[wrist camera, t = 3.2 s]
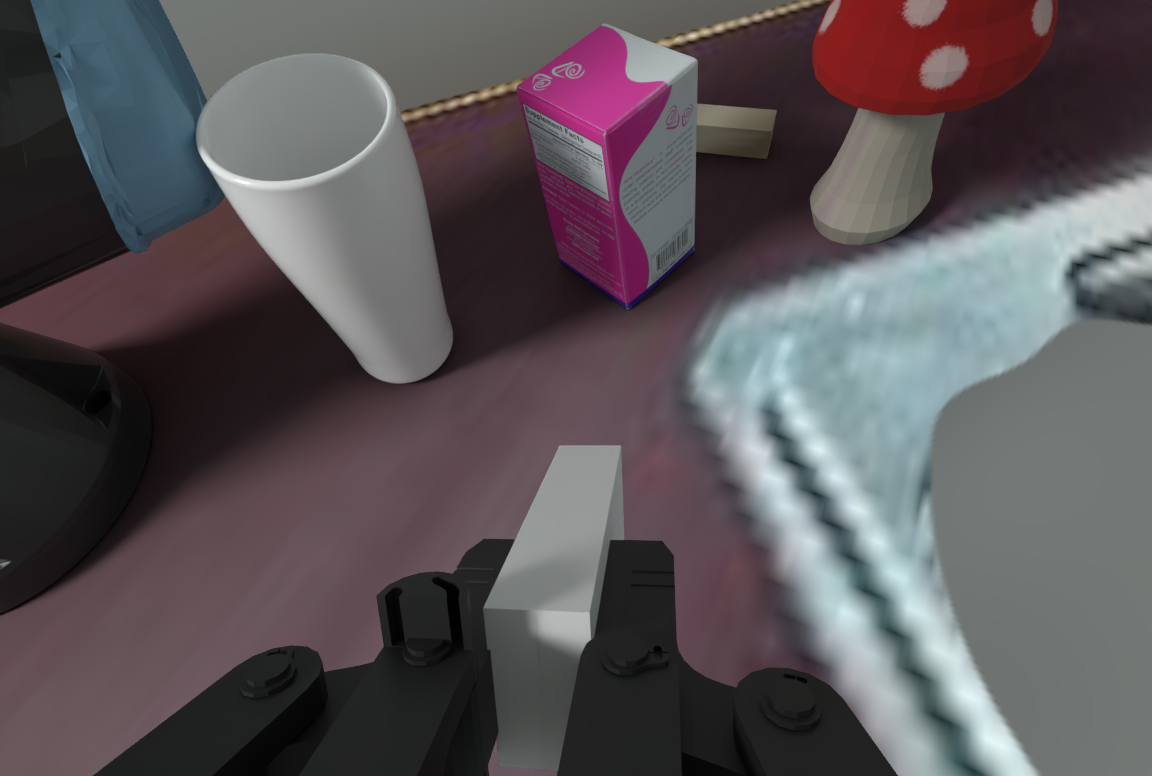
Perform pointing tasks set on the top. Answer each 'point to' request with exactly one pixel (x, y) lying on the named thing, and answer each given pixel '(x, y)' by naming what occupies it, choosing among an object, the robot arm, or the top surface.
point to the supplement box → (617, 158)
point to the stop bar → (734, 130)
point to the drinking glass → (335, 203)
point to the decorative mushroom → (911, 96)
